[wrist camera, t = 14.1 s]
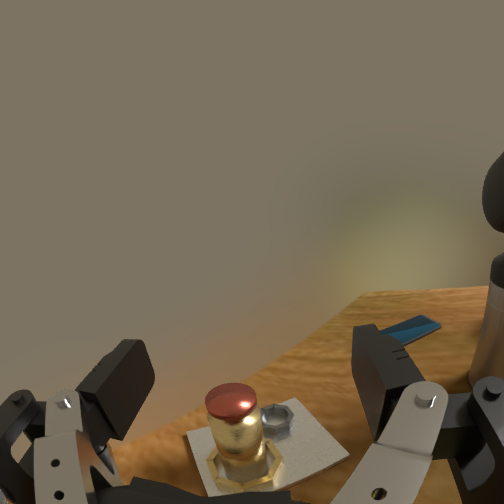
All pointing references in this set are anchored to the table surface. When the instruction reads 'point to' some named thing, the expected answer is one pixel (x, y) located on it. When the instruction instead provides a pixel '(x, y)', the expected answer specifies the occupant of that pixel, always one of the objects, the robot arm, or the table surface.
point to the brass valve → (237, 431)
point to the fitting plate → (273, 451)
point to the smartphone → (412, 329)
